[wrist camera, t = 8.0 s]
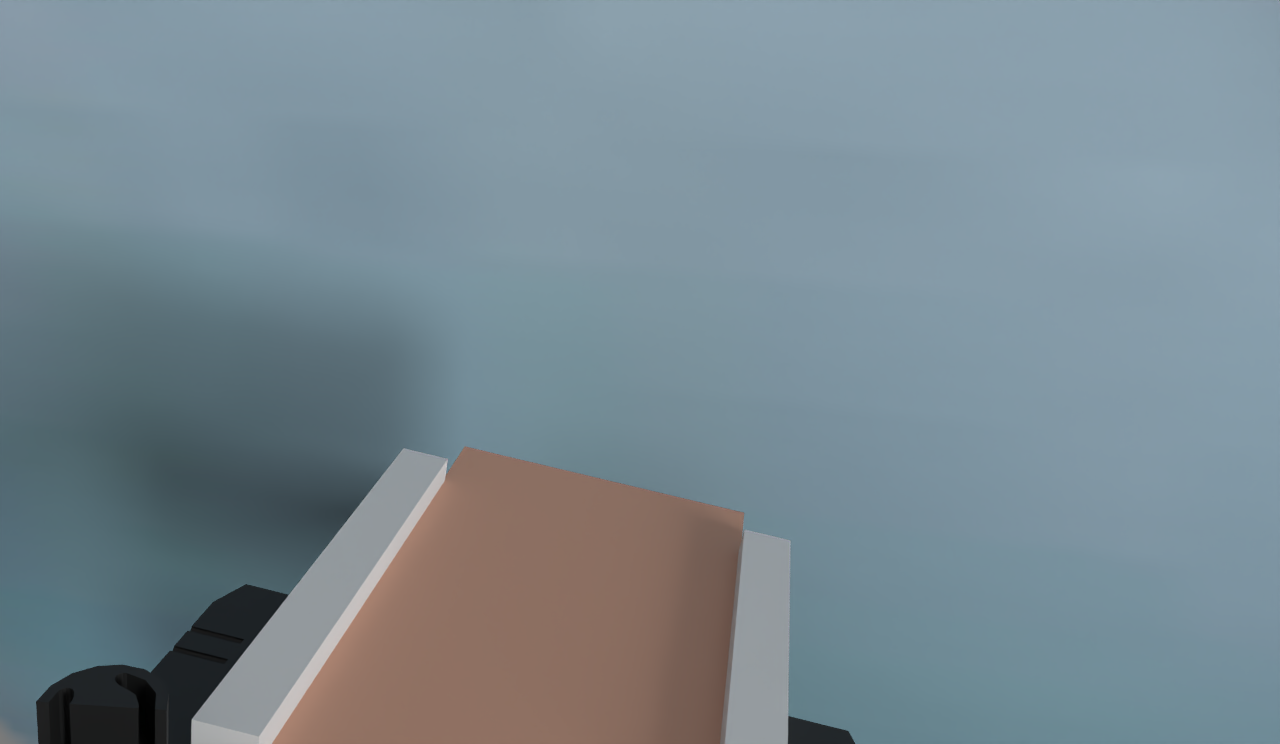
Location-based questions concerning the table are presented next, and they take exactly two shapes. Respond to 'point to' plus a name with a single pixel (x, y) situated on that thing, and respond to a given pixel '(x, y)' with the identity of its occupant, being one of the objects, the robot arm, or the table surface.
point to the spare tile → (537, 619)
